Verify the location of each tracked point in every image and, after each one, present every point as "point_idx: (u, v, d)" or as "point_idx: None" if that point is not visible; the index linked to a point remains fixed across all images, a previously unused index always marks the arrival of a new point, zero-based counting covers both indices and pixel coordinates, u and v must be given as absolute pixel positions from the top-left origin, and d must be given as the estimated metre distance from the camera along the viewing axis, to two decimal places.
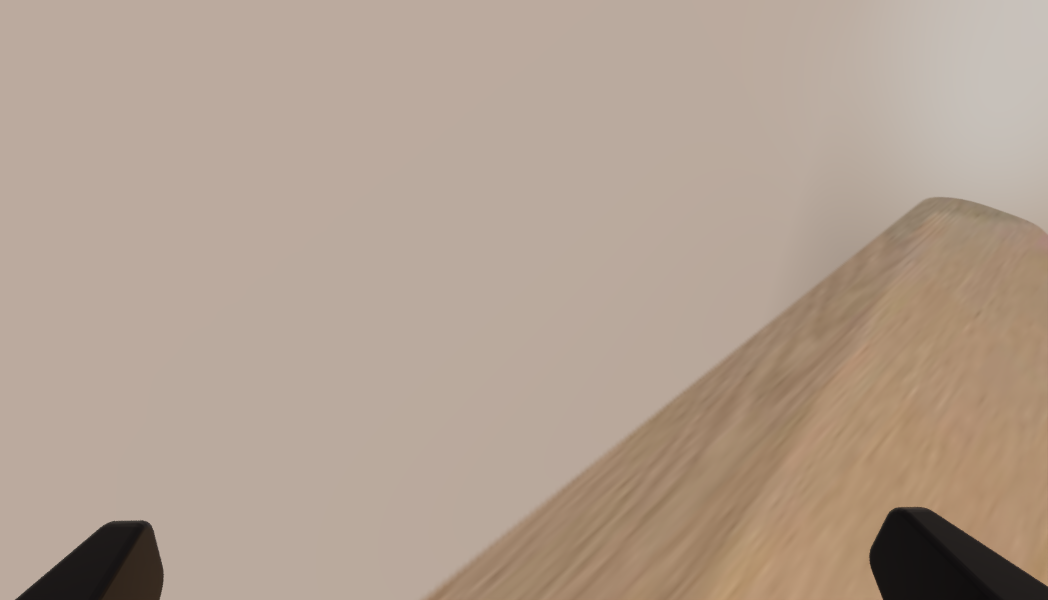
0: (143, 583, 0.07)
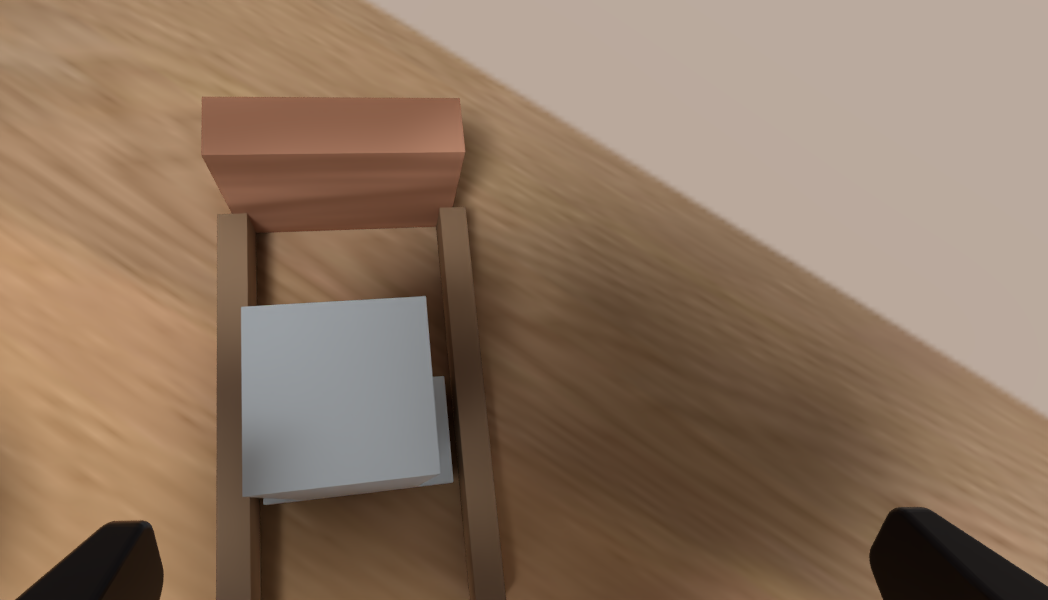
0: (143, 583, 0.07)
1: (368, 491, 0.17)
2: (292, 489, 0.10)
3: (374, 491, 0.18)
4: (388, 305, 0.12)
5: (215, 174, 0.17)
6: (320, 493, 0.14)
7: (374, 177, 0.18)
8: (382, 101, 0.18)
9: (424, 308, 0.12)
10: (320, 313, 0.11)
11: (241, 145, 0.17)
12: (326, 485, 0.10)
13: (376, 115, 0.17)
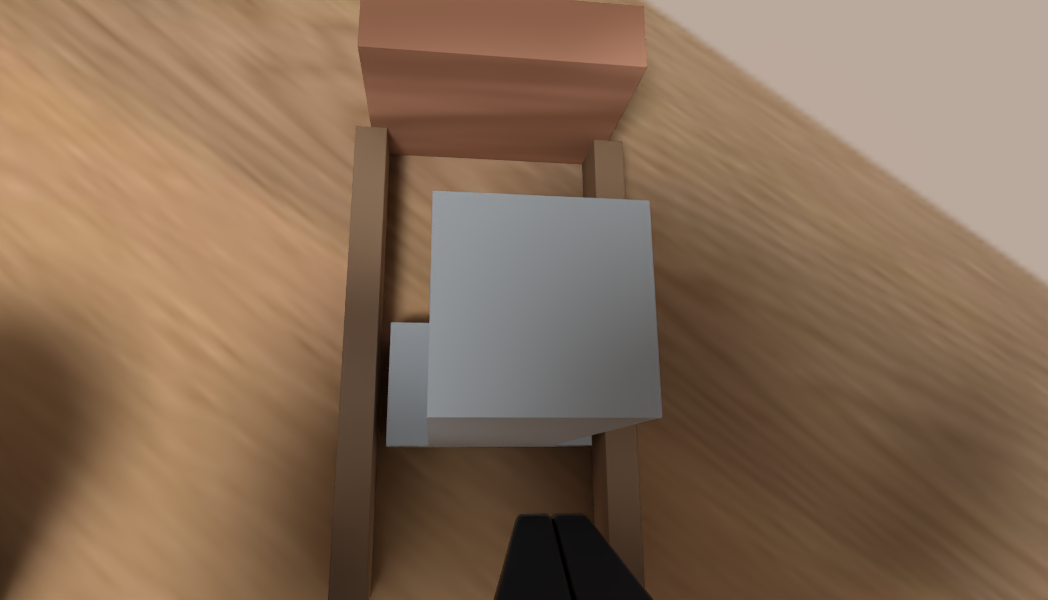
0: None
1: (504, 443, 0.15)
2: (485, 415, 0.08)
3: (506, 444, 0.16)
4: (605, 206, 0.09)
5: (366, 73, 0.15)
6: (476, 433, 0.12)
7: (535, 92, 0.16)
8: (556, 3, 0.15)
9: (647, 214, 0.09)
10: (524, 208, 0.09)
11: (401, 39, 0.15)
12: (526, 415, 0.08)
13: (550, 18, 0.15)
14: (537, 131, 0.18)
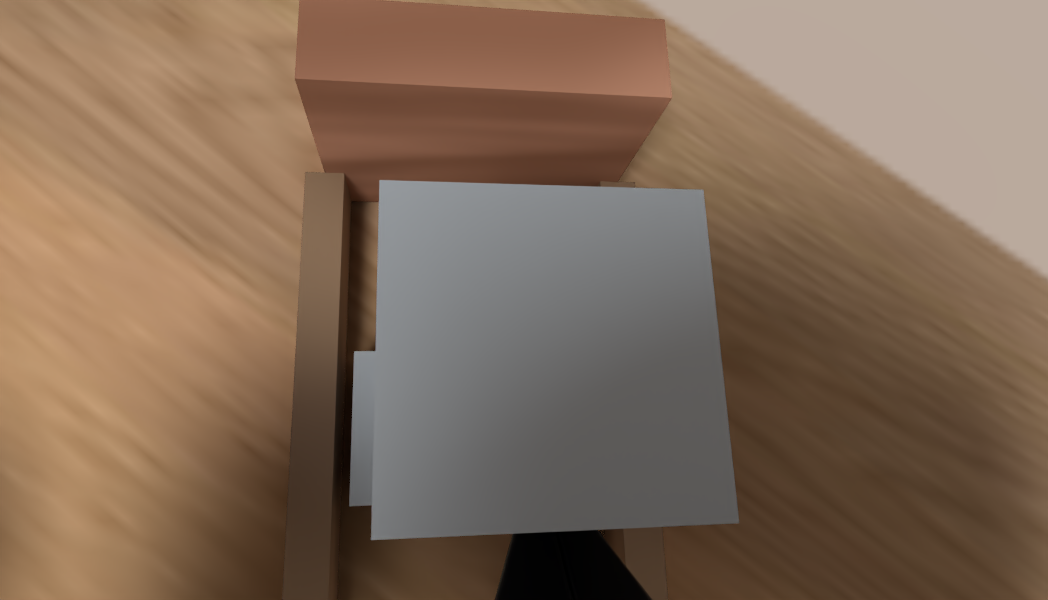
0: None
1: None
2: (465, 533, 0.05)
3: None
4: (639, 200, 0.06)
5: (310, 111, 0.12)
6: None
7: (528, 130, 0.13)
8: (554, 18, 0.12)
9: (702, 211, 0.06)
10: (519, 204, 0.06)
11: (351, 69, 0.11)
12: (529, 530, 0.05)
13: (546, 36, 0.12)
14: (531, 173, 0.15)
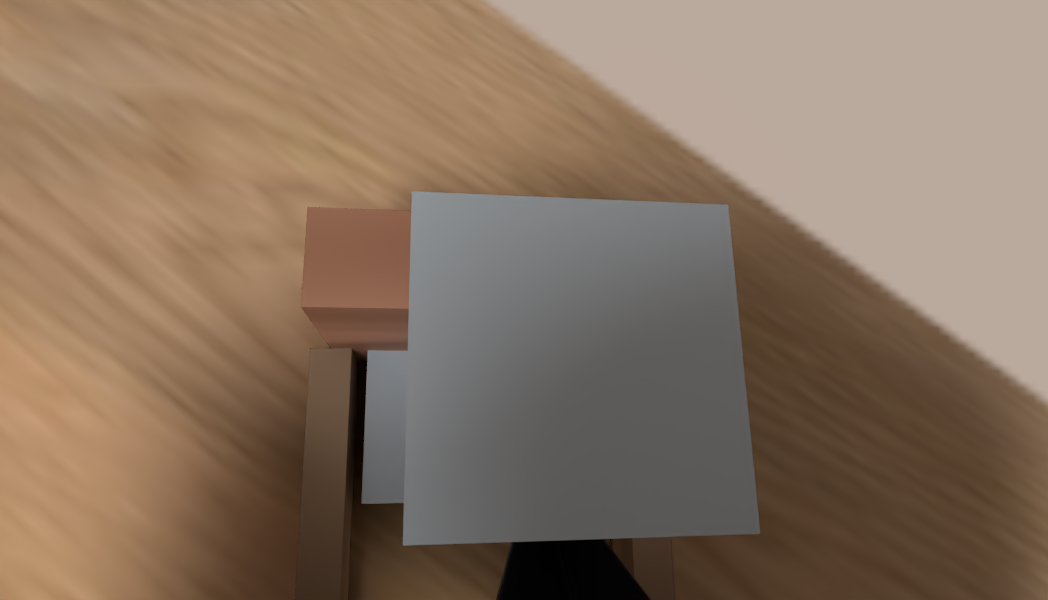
0: None
1: None
2: (494, 539, 0.05)
3: None
4: (665, 214, 0.06)
5: (317, 321, 0.11)
6: None
7: None
8: None
9: (727, 225, 0.06)
10: (548, 217, 0.06)
11: (363, 293, 0.10)
12: (556, 537, 0.05)
13: None
14: None
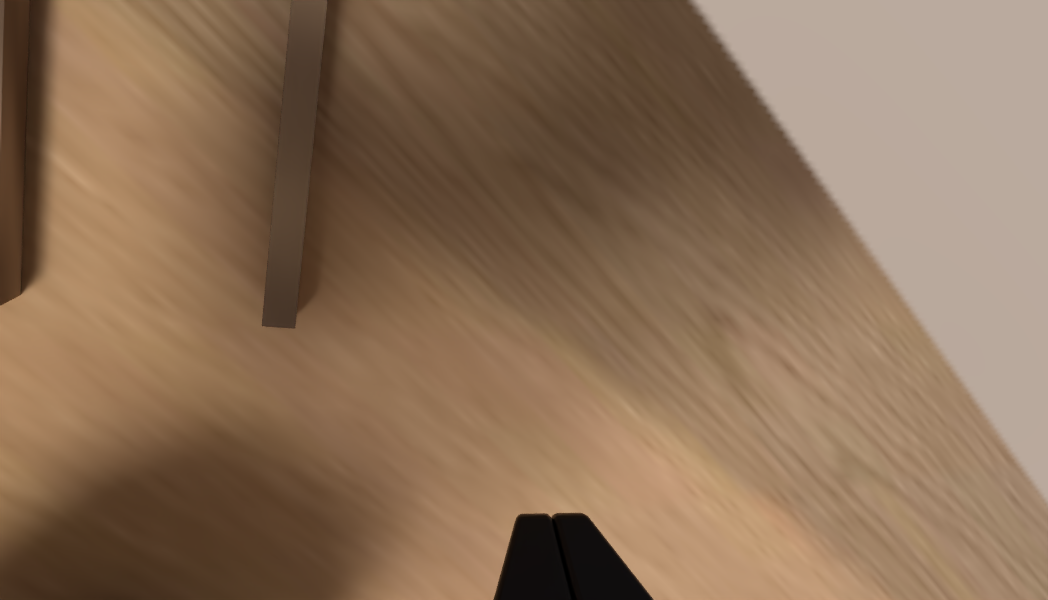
0: None
1: None
2: None
3: None
4: None
5: None
6: None
7: None
8: None
9: None
10: None
11: None
12: None
13: None
14: None
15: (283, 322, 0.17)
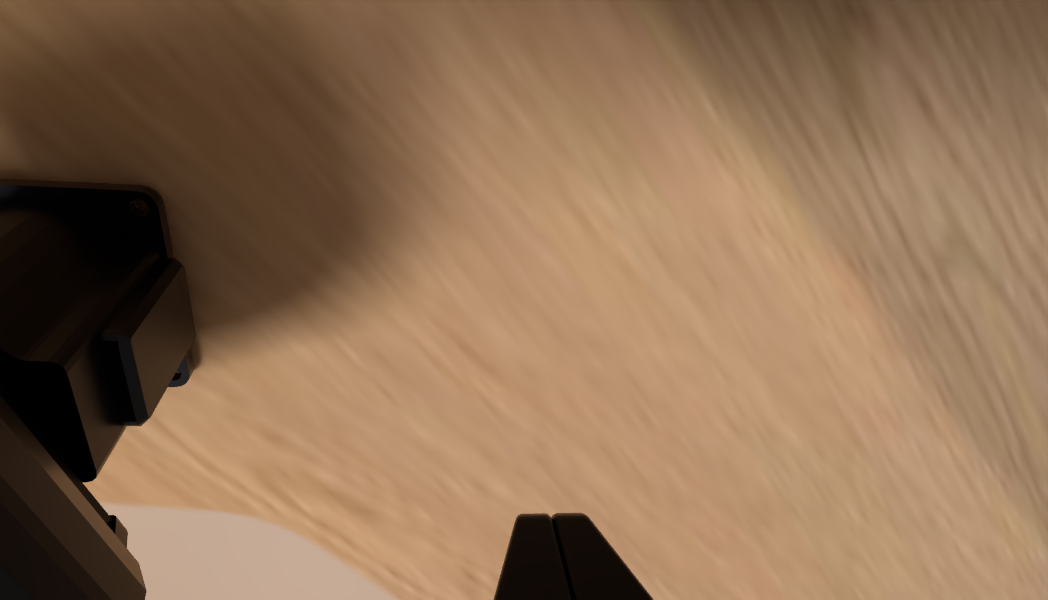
0: None
1: None
2: None
3: None
4: None
5: None
6: None
7: None
8: None
9: None
10: None
11: None
12: None
13: None
14: None
15: None
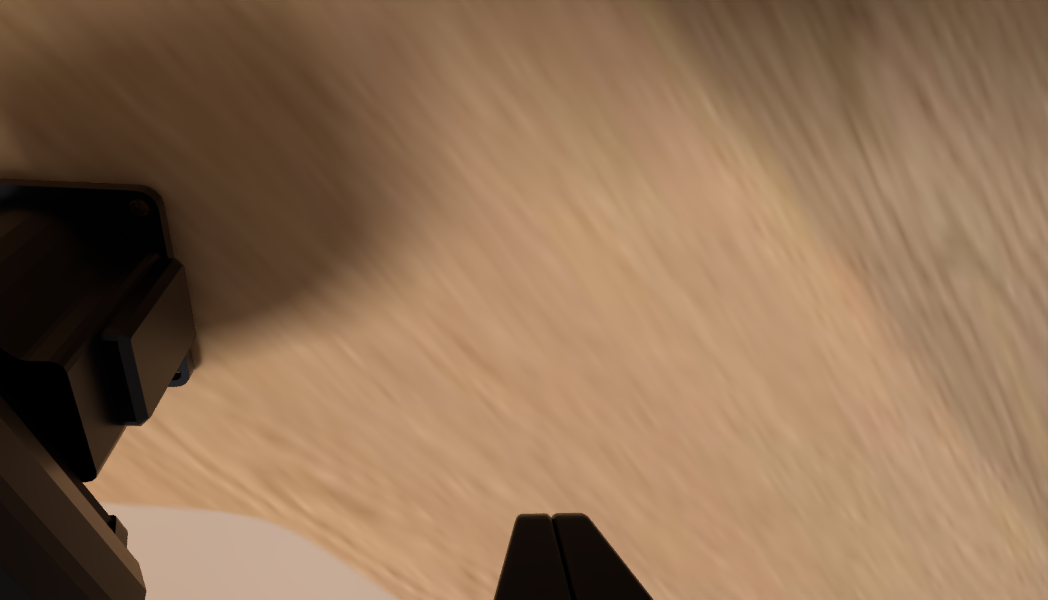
0: None
1: None
2: None
3: None
4: None
5: None
6: None
7: None
8: None
9: None
10: None
11: None
12: None
13: None
14: None
15: None
